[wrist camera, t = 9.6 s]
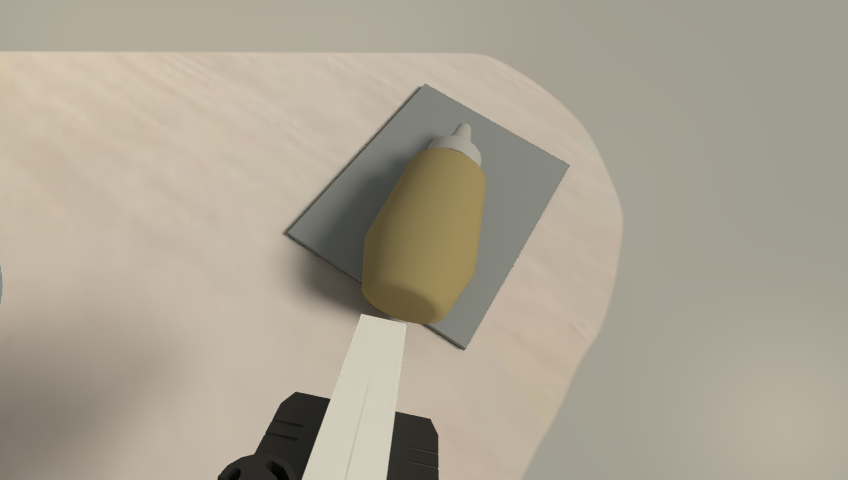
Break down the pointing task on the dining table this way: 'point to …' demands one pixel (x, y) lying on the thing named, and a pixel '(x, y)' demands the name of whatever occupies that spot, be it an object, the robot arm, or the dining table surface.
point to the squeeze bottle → (427, 232)
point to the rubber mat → (382, 168)
